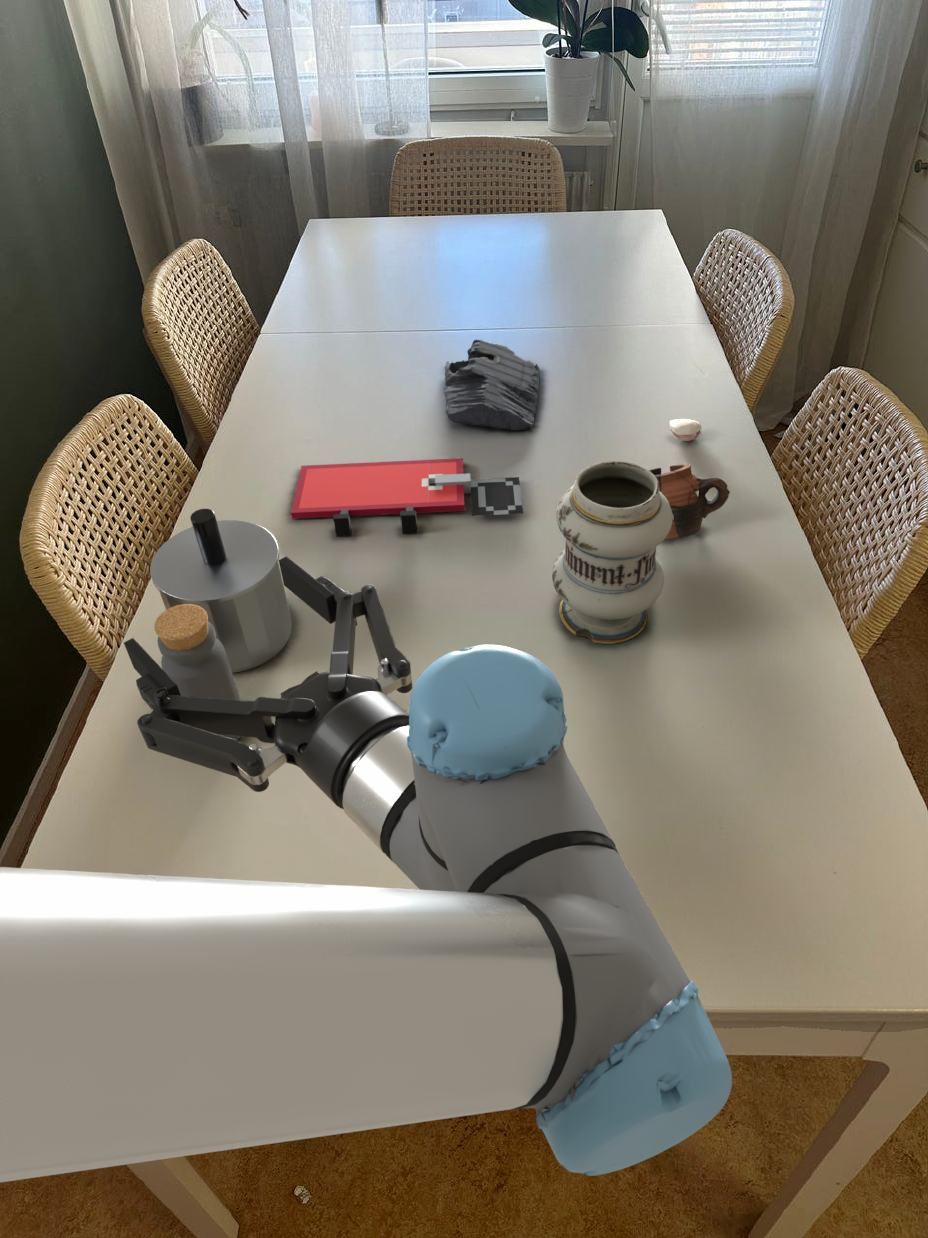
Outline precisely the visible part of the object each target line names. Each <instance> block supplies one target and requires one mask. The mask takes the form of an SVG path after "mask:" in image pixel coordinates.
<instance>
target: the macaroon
mask: <svg viewBox="0 0 928 1238" xmlns="http://www.w3.org/2000/svg"><path fill="white" fill-rule="evenodd" d="M669 428H670V431H671V434H672V435H673V437H674V438H675V439H677V440H678V441H679V440H680V441H683V442H690V441H694V440H695V439H696V438H698V437H700V435H701V431H702V424H701V423H700V422H699V421H697V420H694V419H689V418H679V419H672V420H670V421H669Z"/></svg>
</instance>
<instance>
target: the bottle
mask: <svg viewBox="0 0 928 1238" xmlns="http://www.w3.org/2000/svg"><path fill="white" fill-rule="evenodd" d="M153 627H154V632H155V634H156V635H157V647H158V649H159V652H160V654H161V655H162V657H161V662H160V663H161V668H162V669H163V670H164V671H165V672H166V673H167V675H168V676H169V677H170V678H171V679H172V680H173V681H174V682H175V683H176V684H177V686H178V689H179V692H180V694H181V696H192V697H204V698H217V699H230V700H241V697H240V693H239V690H238V687H237V684H236V680H235V677H234V673H232V671H231V667H230V664H229V661H228V658H227V655H226V652H225V649H224V647H223V645H222V643H221V642H220V641H219V640H218V639H216V633H215V630H214V627H213V626H212V624H211V623H210V622H209V621H208V615H207V613H206V611H205V610H204V609H203V608H202V607H200V606H198V605H194V604H182V605H177V606H174V607H171V608H169V609H167V610H166V609H165V610H164V611H163V612H161V614H160V615H158V617H157V618H156V619H155V622H154V626H153ZM218 735H221V734H218ZM222 736H225V737H228V738H231V739H234V740H237V741H239V739H240V738H241V737H242V736H233V735H222Z"/></svg>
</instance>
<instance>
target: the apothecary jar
mask: <svg viewBox="0 0 928 1238" xmlns="http://www.w3.org/2000/svg"><path fill="white" fill-rule="evenodd" d="M649 470H650V469H648V468H646V467H644V466H643V465H640V464H637V463H633V462H630V461H624V460H606V461H600V462H596V463H593V464H591V465H589V466H587V467H585V468H583V470H581V471H580V472H579V473H578V475H577V476H576V478H575V481H574V484H573V485H572V486H570V487H569V488H568V489H567V490H565V492H563V494H562V495H561V497H560V499H559V500H558V503H557V506H556V511H555V519H556V523H557V527H558V530H559V531H560V532H561V534H562V536H563V537H564V538H565V545H564V546H565V547H564V548H563V549H562V550H561V551H560V552H559V554H558V555H557V557H556V558H555V561H554V563H553V566H552V571H551V579H552V584H553V587H554V590H555V591H556V593H557V595H558V596H559V597H560V599H561V601H560V604H559V608H558V609H559V611H558V613H559V617H560V620H561V623H562V624H563V625H564V627H565V628H566V629H567V630H568V631H569V632H570V633H571V634H573V635H574V636H577V637H583V638H584V637H585V638H587V639H589V640H590V641H591V642H592V643H595V644H601V645H602V644H603V645H615V644H619V643H624V642H627V641H630V640H631V639H634V638H635V637H637V636H638V635H639V634H640V633H641V632H642V631H643V630H644V628H645V626H646V624H647V620H648V611H647V610H648V609H649V608H651V606H653V605H654V604H655V602H656V601H657V600H658V599H659V598H660V596H661V594H662V592H663V589H664V584H665V573H664V569H663V566H662V564H661V562H660V560H659V559H658V557H657V547H658V546H659V545H660V544H661V543H662V542H664V541H665V540H664V539H665V538H666V537H667V535H668V533H669V532H670V529H671V526H672V521H673V514H672V510H671V507H670V504H669V502H668V500H667V499H666V497H665V496H664V495H663V494H662V493H661V492H660V489H659V482H658V480H657V478H656V476H655V475H654V474H653V473H652V472H650V471H649Z"/></svg>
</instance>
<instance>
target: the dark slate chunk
mask: <svg viewBox="0 0 928 1238" xmlns="http://www.w3.org/2000/svg"><path fill="white" fill-rule="evenodd" d="M444 382H445V388H444V397H445V401H446V409H445V414H446V416H447V418H448V420H449V421H450V422H451V423H452V424H457V425H460V424H461V425H464V424H465V425H469V426H479V427H481V426H482V427H483V426H484V427H485V426H486V427H489V428H494V429H504V430H509V431H510V430H511V431H523V430H524V431H525V430H530V429H532V428H533V427H534V424H535V417H536V411H537V409H538V407H537V406H538V400H539V398H538V395H539V387H540V384H539V382H540V368H539V365H538V364H537V363H533V362H531V360H525V359H524V358H522V357H520V356H519V355H517V354H516V353H515V352H514V350H511V348H509V347H508V346H506V345H503V344H499V343H493V342H488V341H485V340H482V339H474V340H473V342H472V343H471V346H470V347H469V348H468V349H467V360H464V359H463V360H460V361H459V360H455V361H454V360H453V361H452V360H451V361H447V362H445V366H444Z"/></svg>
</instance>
